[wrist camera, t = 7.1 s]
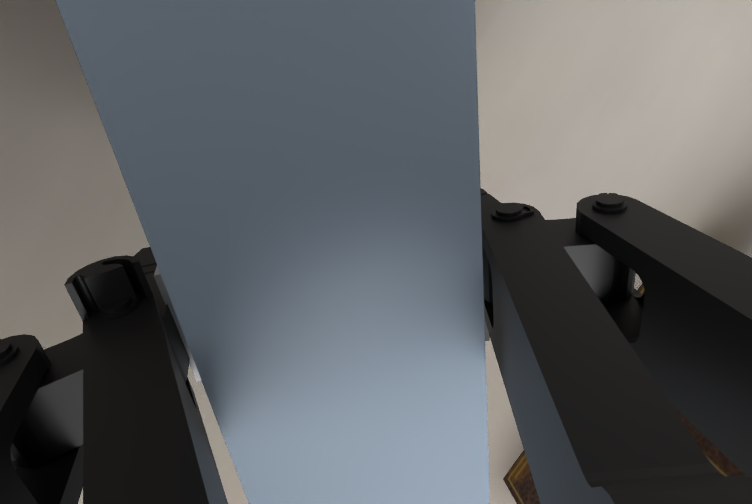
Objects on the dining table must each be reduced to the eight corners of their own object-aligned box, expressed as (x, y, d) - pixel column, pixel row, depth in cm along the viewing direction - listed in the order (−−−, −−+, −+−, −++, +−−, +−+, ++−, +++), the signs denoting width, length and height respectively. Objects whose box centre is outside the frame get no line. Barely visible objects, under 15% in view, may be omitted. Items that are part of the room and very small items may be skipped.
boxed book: (272, 374, 20) (294, 621, 12) (148, -44, 13) (9, -118, 5) (394, 343, 20) (491, 555, 13) (337, -68, 14) (469, -164, 6)
